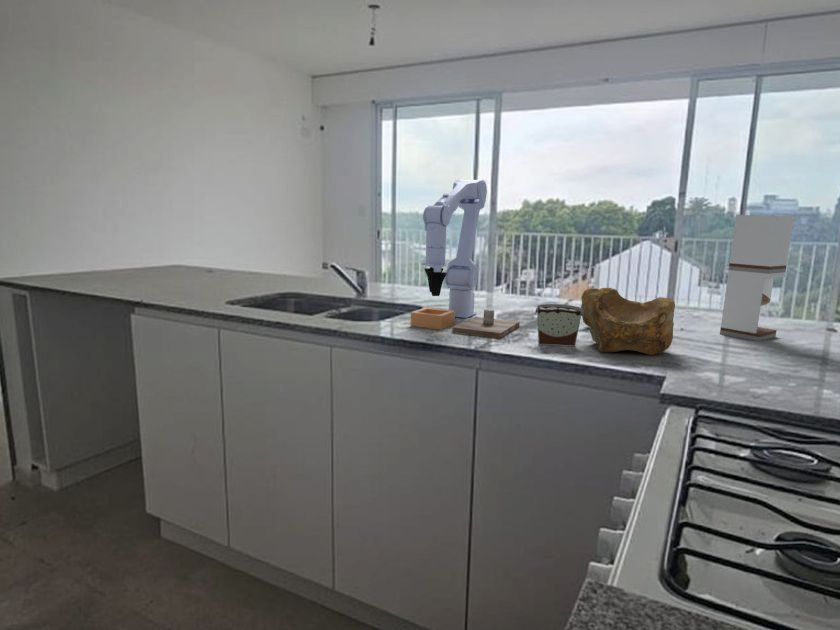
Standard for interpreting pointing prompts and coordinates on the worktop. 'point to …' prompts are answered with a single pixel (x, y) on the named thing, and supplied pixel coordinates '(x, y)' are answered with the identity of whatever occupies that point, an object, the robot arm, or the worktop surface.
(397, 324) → the worktop surface
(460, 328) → the post base
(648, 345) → the rough brown rock
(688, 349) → the worktop surface
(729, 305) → the white stacked pedestal
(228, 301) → the worktop surface
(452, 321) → the shallow wooden tray
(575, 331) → the food container
